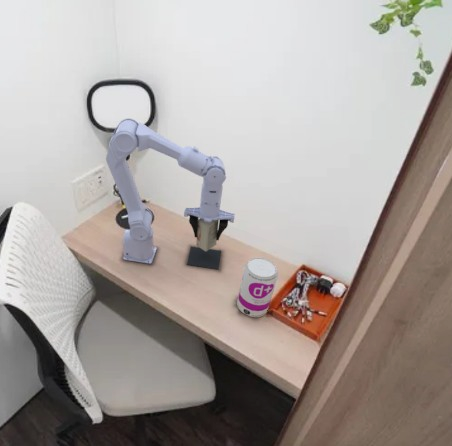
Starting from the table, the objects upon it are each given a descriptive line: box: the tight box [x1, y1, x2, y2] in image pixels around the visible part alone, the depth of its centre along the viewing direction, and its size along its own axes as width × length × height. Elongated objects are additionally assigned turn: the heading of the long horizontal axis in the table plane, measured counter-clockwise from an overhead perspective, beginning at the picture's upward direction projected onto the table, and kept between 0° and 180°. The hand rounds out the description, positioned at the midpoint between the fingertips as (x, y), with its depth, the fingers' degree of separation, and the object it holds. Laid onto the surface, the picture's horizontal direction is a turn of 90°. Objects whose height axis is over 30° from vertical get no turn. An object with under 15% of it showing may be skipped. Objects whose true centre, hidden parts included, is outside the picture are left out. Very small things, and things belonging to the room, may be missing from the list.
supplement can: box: [236, 257, 279, 318], centre depth 88 cm, size 8×8×15 cm
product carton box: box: [195, 218, 220, 251], centre depth 103 cm, size 5×4×10 cm
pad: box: [186, 246, 222, 271], centre depth 109 cm, size 10×9×1 cm
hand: (206, 236), depth 104 cm, fingers closed on product carton box, 6 cm apart
